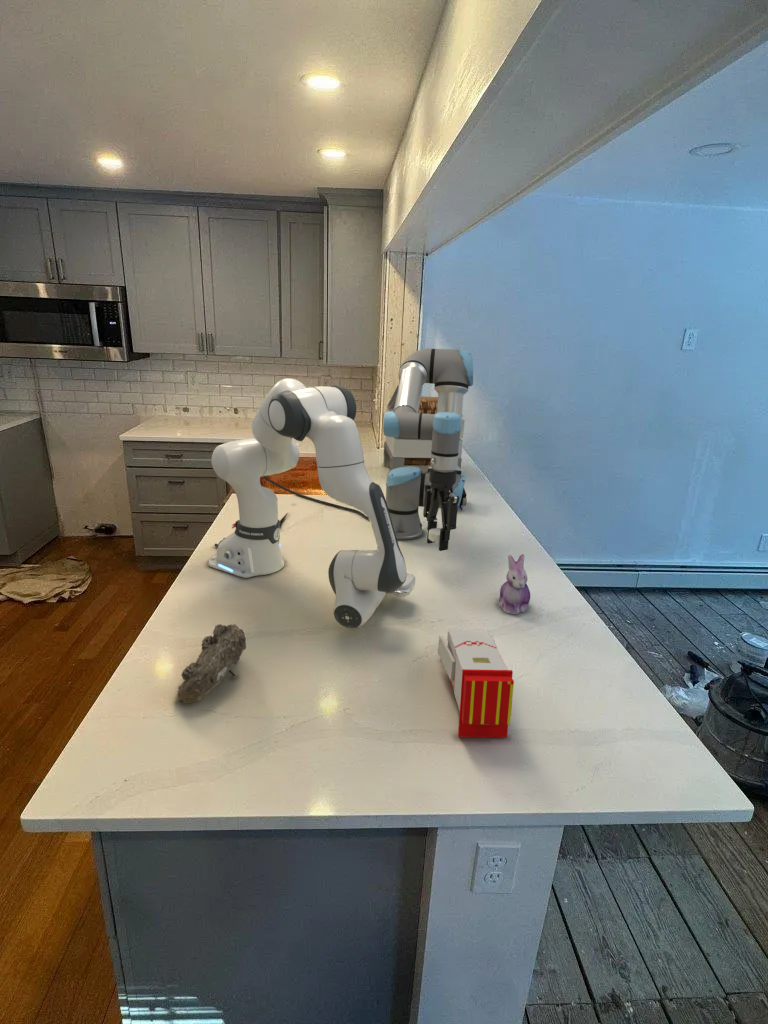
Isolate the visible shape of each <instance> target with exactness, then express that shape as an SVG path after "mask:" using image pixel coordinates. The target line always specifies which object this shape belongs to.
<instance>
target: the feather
mask: <svg viewBox="0 0 768 1024" xmlns="http://www.w3.org/2000/svg"><path fill="white" fill-rule="evenodd" d="M287 515H288V513H286V514H285V515H284V516H283V517H282V518H281V519H279V522H280V527H282V524H283V522H284V521H285V519H286V518H287Z"/></svg>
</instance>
